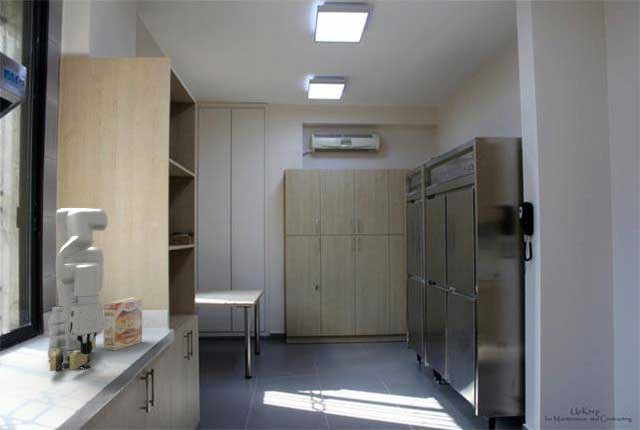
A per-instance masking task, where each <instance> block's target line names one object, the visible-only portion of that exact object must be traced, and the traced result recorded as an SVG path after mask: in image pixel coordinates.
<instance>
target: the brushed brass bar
mask: <svg viewBox="0 0 640 430" xmlns="http://www.w3.org/2000/svg"><path fill="white" fill-rule="evenodd" d="M62 364H64V361H63V348H56V349H54V352H53V353H52V355H51V356H50V359H49V365H50V366H49V372H54V371H55V372H60V371H63V369H62Z"/></svg>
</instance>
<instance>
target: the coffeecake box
mask: <svg viewBox="0 0 640 430" xmlns="http://www.w3.org/2000/svg"><path fill="white" fill-rule="evenodd" d="M103 315H104V329H103V347H102V348H103V350H108V351H109V350H110V351H118V350H121V349H124V348H126V347H127V348H128V347H130V346H133V345H136V344H140V343H142V342H143V298H142V297H129V298H123V299H121V298H120V299H117V300H116V299H115V300H111V301H105V302H104V303H103Z"/></svg>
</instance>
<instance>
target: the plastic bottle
mask: <svg viewBox="0 0 640 430" xmlns="http://www.w3.org/2000/svg"><path fill="white" fill-rule="evenodd" d="M51 309H52V310H51V311H52V314H51V315H50V316H49V318H48V321H47V324H48V325H47V327H48V331H49V332H48V333H49V341H48V342H49V343H48V348H47V357H48V359H49V360H50V356H51V355H52V353H53V352H54V349H56V348H63V354H65V353H68V352H69V350H67V345H66V326H67V317H66V316H65V314H64V313H63V311H64V310H63V306H59V305H57V306H53V307H52V308H51Z"/></svg>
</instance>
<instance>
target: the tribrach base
mask: <svg viewBox="0 0 640 430" xmlns="http://www.w3.org/2000/svg"><path fill="white" fill-rule="evenodd" d="M80 349H81V348H80ZM80 349H74V350H71V351H68V352H67V353H65V354H63V363H62V370H67V368H68V369H70V354H72V353H74V352H76V351H78V350H80ZM95 355H96V352H95V351H94V350H93V351H91V359H92V358H95V357H96V356H95ZM64 362H65V363H64ZM80 367H83V365H82V366H80ZM80 367H79V368H80Z"/></svg>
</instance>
